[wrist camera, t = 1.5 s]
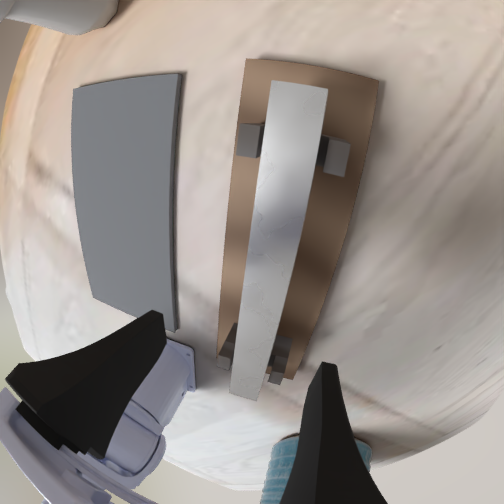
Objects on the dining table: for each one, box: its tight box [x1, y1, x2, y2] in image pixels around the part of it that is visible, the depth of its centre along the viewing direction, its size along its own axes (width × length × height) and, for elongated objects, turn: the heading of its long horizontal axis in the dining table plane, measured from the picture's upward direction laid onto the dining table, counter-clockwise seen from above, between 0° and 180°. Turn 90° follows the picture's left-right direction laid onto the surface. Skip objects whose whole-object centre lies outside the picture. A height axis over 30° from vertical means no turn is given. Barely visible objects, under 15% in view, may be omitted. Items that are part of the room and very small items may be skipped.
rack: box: [216, 58, 379, 385], centre depth 18 cm, size 26×8×5 cm, turn 173°
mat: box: [71, 74, 182, 333], centre depth 22 cm, size 24×12×1 cm, turn 173°
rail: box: [229, 80, 328, 401], centre depth 16 cm, size 22×2×2 cm, turn 173°
